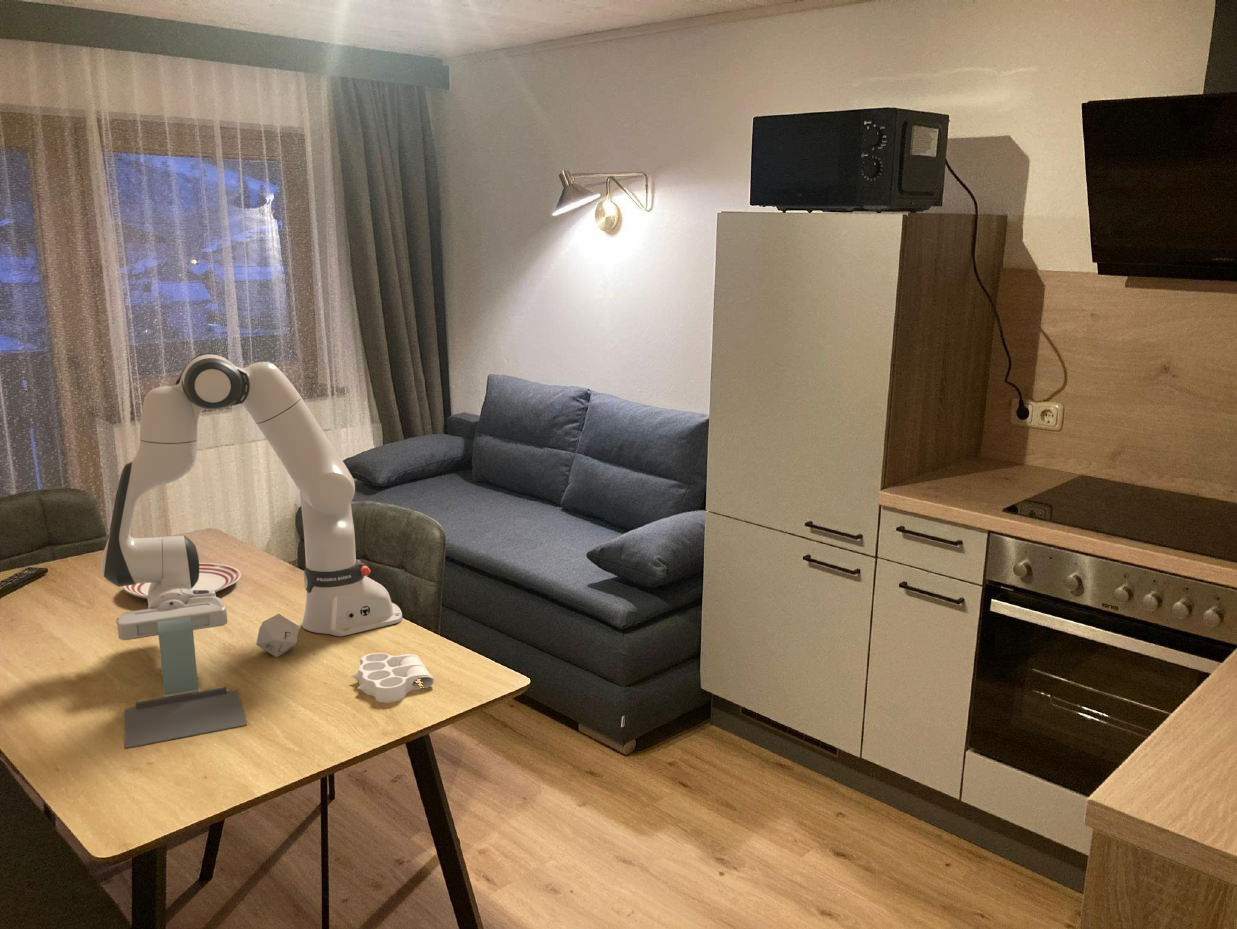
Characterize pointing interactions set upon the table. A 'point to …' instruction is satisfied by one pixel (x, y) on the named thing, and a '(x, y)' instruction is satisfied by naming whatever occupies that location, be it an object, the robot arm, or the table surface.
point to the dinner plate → (209, 579)
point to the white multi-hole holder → (391, 676)
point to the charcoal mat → (183, 716)
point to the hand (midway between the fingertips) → (174, 633)
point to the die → (277, 635)
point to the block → (177, 656)
